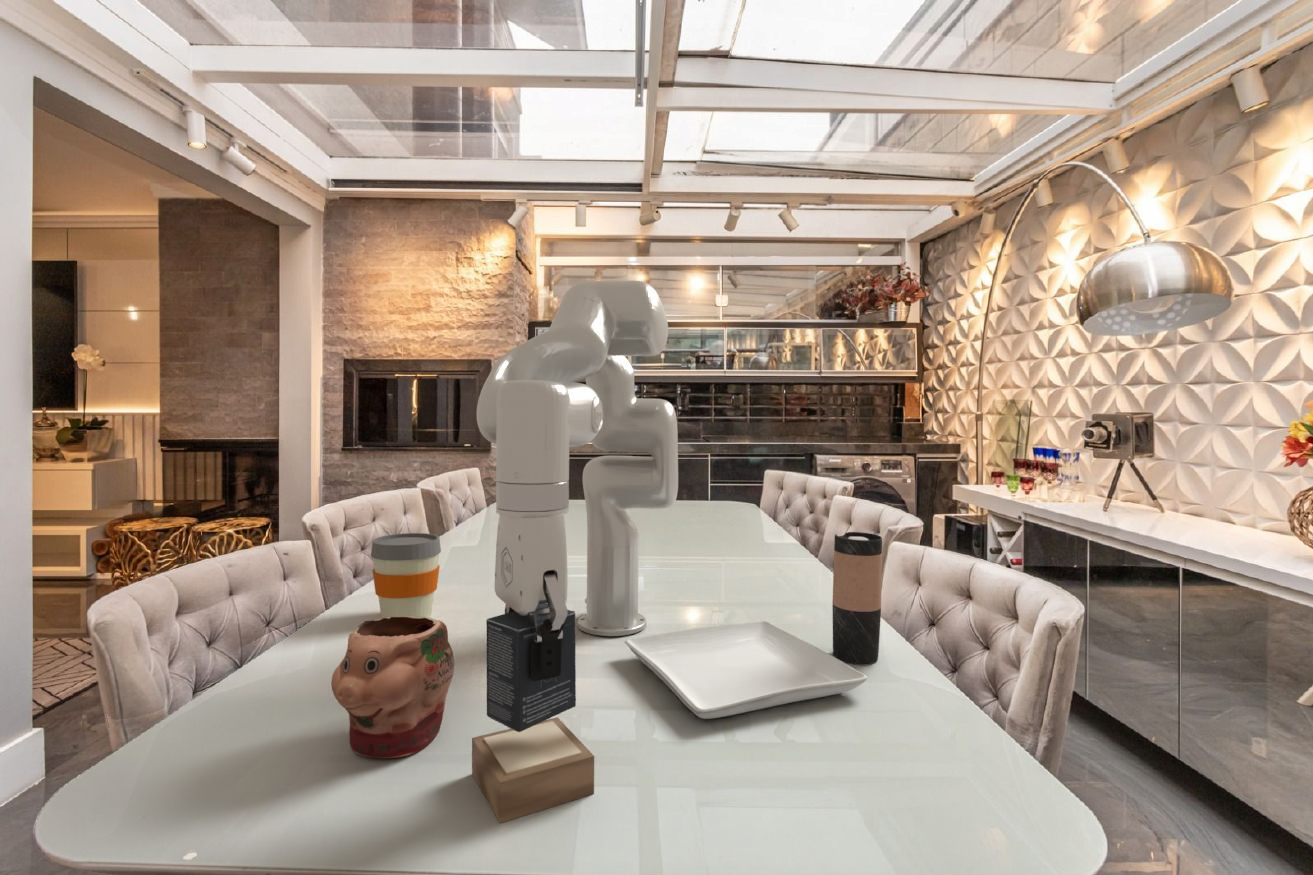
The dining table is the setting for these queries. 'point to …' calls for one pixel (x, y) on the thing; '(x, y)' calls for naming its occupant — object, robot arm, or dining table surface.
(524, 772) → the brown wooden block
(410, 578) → the reusable coffee cup
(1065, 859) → the dining table surface
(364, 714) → the decorative planter
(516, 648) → the box
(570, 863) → the dining table surface
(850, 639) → the travel mug
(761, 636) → the square plate
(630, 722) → the dining table surface
